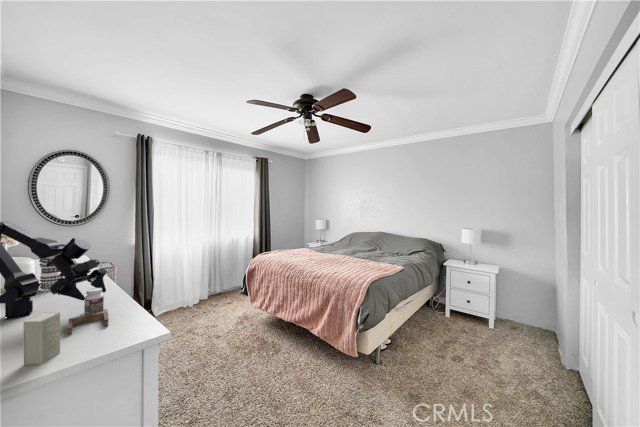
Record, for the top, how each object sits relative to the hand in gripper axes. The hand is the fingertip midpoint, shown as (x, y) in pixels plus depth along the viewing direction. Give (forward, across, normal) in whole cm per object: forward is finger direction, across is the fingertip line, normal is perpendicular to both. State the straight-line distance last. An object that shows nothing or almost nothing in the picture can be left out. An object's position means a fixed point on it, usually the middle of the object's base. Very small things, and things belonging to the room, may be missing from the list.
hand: (95, 295), depth 102 cm
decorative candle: (-30, +30, +42) cm, 60 cm away
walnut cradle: (+10, -9, +1) cm, 14 cm away
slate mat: (+6, 0, +6) cm, 8 cm away
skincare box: (+14, -29, -3) cm, 32 cm away
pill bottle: (+5, 0, +6) cm, 8 cm away
